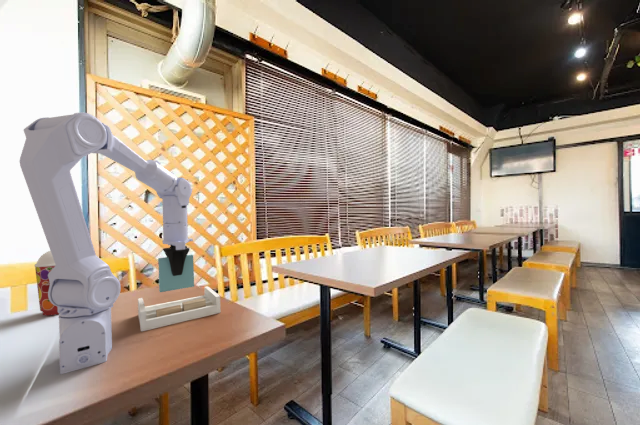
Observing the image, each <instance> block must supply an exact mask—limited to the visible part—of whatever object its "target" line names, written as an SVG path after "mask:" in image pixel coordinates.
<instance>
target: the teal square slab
mask: <svg viewBox="0 0 640 425" xmlns="http://www.w3.org/2000/svg"><path fill="white" fill-rule="evenodd" d="M194 264H195V263H194V254H187V256H186V259H185V263H184V268H183V272H182V275H177V276H173V275H172V271H171V266H170V262H169V258H168V257H167V256H165V257H158V266H157V267H158V290H159V293H164V292H165V293H166V292H171V291H177V290H182V289H186V288H187V289H188V288H194V287H195V267H194Z"/></svg>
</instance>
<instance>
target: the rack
mask: <svg viewBox="0 0 640 425" xmlns="http://www.w3.org/2000/svg"><path fill="white" fill-rule="evenodd" d="M203 291H204V295H198V296H194V297H193V296H192V297H189V298H184V299H178V300H173V301H168V302H163V303H162V302H161V303H156V304H151V305H147V306H145V302H144V299H143V297H140V298H137V316H138V321H139V326H140V327H139V328H140V332H145V331H149V330H154V329H157V328H162V327H166V326H170V325H171V326H172V325H174V324H179V323H184V322H188V321H191V320H197V319H200V318H203V317H204V318H205V317H208V316H211V315H216V314H220V313H221V296H220V295H219V294H218V293H217V292H216V291H215V290H213V289H212V288H211V287H210V286H204V290H203ZM202 298H204V299H205V300H206V307H201V308H197V309H192V310H187V311H183V310H182V302H187V301H192V300H197V299H202ZM177 305H180V306H181V312H178V313H174V314H169V315H164V316H160V317H156V310H157V309H162V308H167V307H172V306H177Z"/></svg>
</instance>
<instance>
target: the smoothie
mask: <svg viewBox="0 0 640 425" xmlns="http://www.w3.org/2000/svg"><path fill="white" fill-rule="evenodd" d="M55 265H56V264H55V262H54V259H53V256H52V253H51V250H48V251H46V252H44V253H43V254H42V255H40V257H39V258H38V260H37V261H36V263H35V264H34V268H35V277H36V286H37V293H38V294H37V295H38V303H39V310H40V312H42V315H43V316H49V317H50V316H59V313H58V307H57V306H55V305H53V304H52V303H51V302H50V300H49V298H48V291H49V286H50V281H49V278H48V274H49V272H50V271H51V270H52V269H53V268H54V267H55Z"/></svg>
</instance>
